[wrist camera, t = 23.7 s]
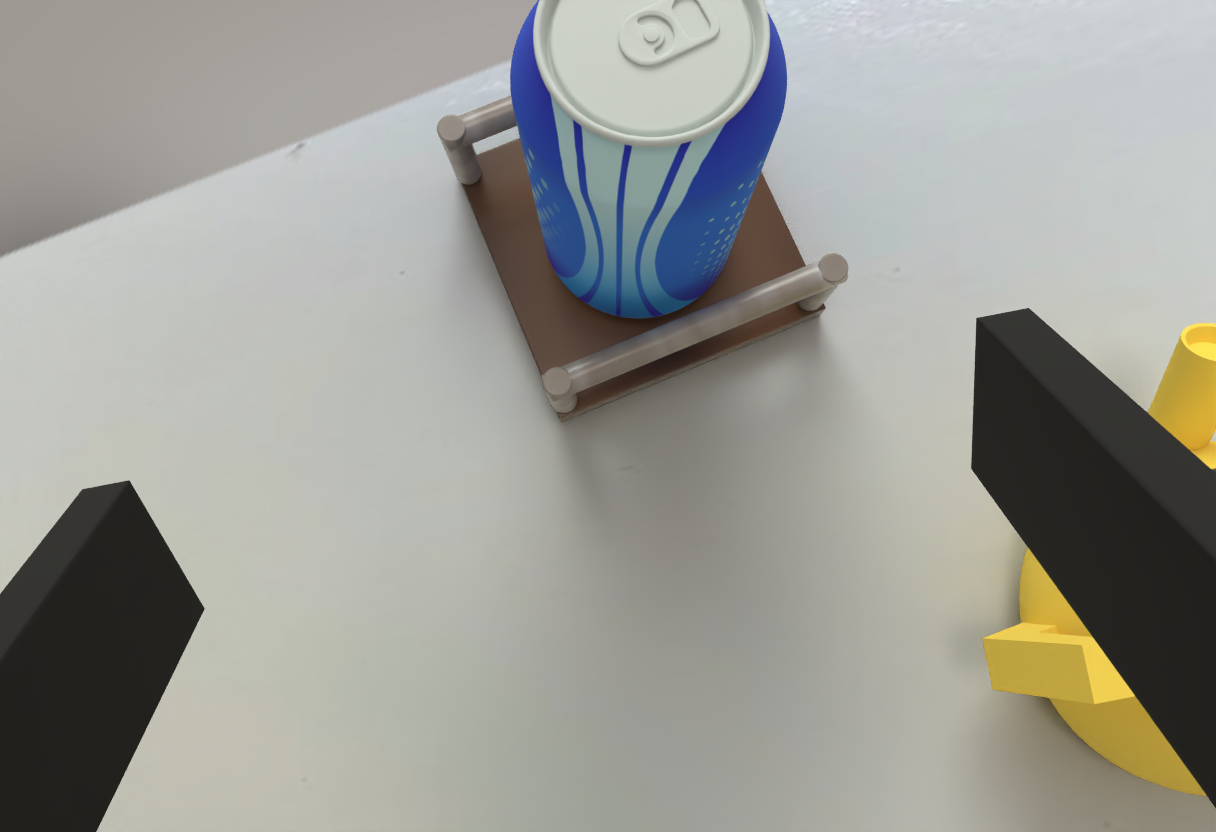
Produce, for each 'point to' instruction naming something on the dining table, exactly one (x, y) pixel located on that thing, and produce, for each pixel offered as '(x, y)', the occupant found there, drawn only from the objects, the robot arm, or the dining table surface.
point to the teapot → (1060, 643)
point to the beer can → (645, 140)
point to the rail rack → (612, 345)
